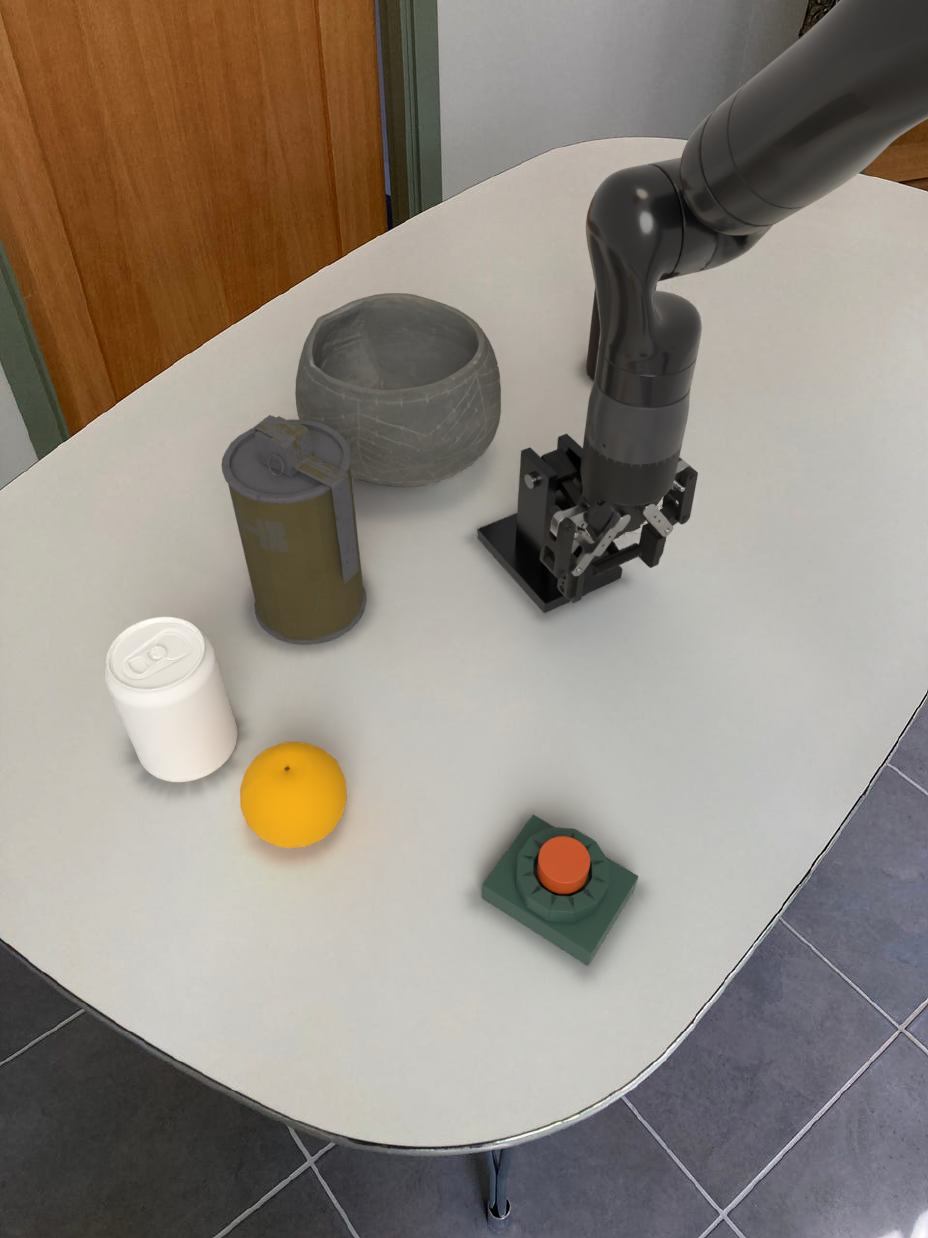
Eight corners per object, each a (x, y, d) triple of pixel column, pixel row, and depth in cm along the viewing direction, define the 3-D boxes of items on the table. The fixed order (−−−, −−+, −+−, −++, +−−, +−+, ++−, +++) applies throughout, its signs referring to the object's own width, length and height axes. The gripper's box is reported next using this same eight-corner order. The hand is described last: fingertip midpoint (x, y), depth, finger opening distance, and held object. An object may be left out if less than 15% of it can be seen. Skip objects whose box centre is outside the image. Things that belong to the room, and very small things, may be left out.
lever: (637, 561, 85) (646, 547, 83) (591, 581, 83) (600, 568, 81) (567, 457, 89) (574, 442, 86) (522, 475, 87) (528, 459, 85)
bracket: (621, 578, 93) (640, 475, 83) (544, 613, 89) (554, 510, 80) (550, 507, 99) (560, 404, 90) (477, 538, 96) (479, 434, 87)
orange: (353, 773, 78) (345, 719, 72) (347, 862, 72) (338, 810, 67) (254, 775, 77) (238, 720, 72) (241, 864, 72) (223, 812, 67)
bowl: (535, 482, 102) (544, 360, 91) (359, 551, 95) (346, 428, 84) (437, 384, 114) (436, 265, 103) (275, 438, 107) (254, 317, 96)
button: (596, 865, 68) (599, 853, 67) (571, 904, 66) (573, 892, 65) (553, 839, 70) (555, 827, 68) (527, 877, 68) (528, 865, 66)
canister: (231, 613, 89) (186, 440, 74) (305, 549, 95) (277, 377, 80) (320, 665, 85) (291, 493, 70) (392, 595, 91) (379, 422, 76)
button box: (634, 890, 71) (642, 864, 68) (588, 966, 67) (594, 942, 64) (531, 828, 74) (534, 801, 71) (481, 898, 70) (482, 872, 67)
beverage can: (258, 744, 79) (233, 652, 70) (176, 805, 75) (138, 715, 67) (201, 690, 83) (171, 595, 74) (120, 745, 79) (77, 652, 70)
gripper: (587, 488, 69) (568, 636, 81) (737, 426, 74) (698, 574, 86) (529, 433, 73) (520, 581, 85) (675, 378, 78) (646, 526, 90)
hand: (609, 578), depth 85 cm, fingers open, 8 cm apart
